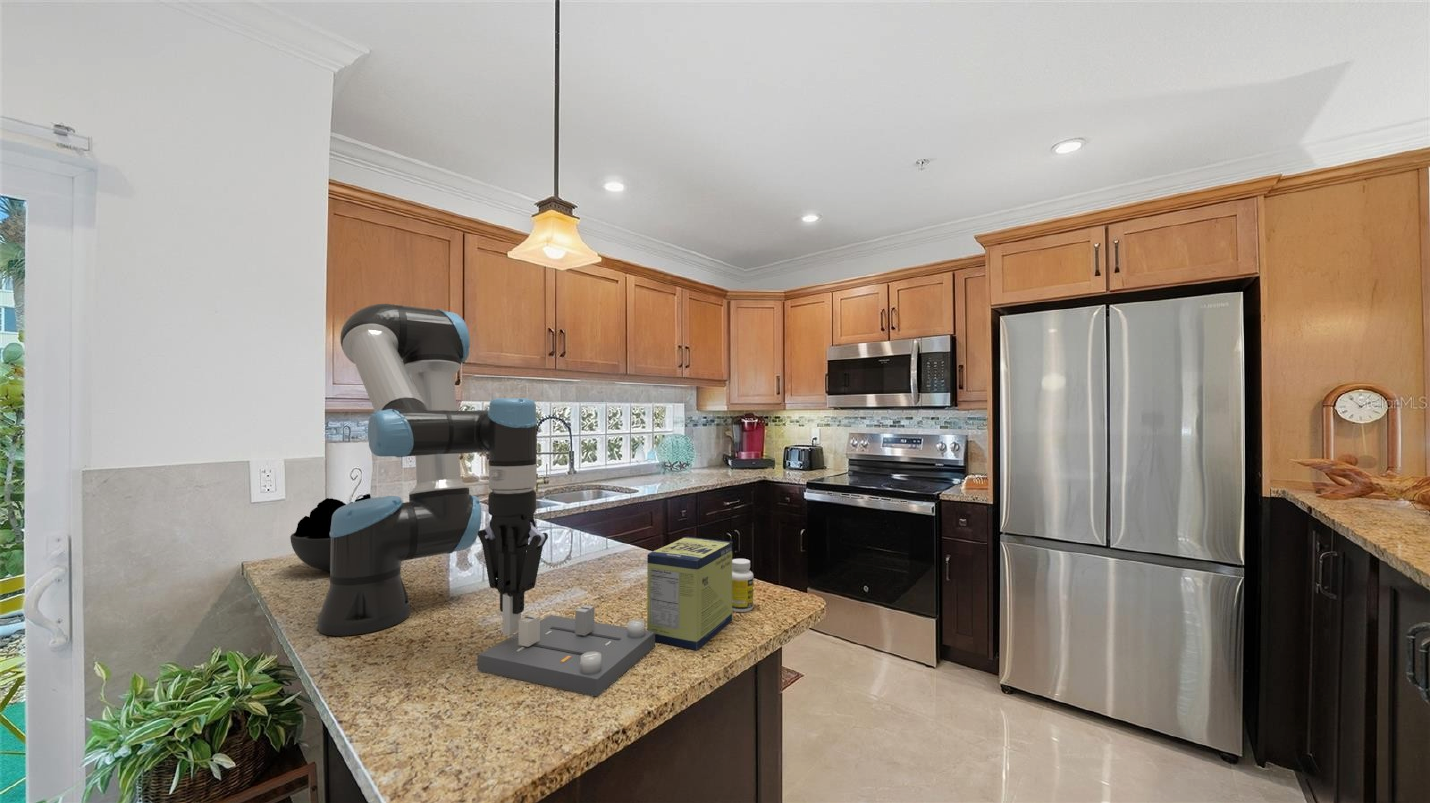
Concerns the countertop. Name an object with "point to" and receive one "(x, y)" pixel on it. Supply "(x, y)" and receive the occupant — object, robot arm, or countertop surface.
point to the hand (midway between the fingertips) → (511, 631)
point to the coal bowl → (317, 534)
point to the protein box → (689, 591)
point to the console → (571, 655)
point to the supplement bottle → (742, 586)
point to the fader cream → (529, 630)
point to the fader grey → (584, 620)
